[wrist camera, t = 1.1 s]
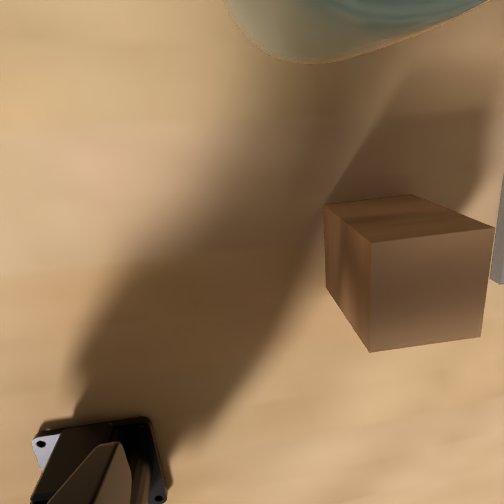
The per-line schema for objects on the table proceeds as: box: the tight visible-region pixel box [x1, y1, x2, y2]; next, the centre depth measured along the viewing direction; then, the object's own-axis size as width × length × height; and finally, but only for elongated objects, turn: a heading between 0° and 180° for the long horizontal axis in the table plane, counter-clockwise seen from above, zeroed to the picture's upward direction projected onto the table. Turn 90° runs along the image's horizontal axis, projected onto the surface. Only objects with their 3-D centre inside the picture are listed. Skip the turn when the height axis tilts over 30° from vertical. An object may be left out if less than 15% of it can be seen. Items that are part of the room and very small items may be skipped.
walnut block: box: [324, 195, 495, 353], centre depth 17 cm, size 4×4×6 cm
